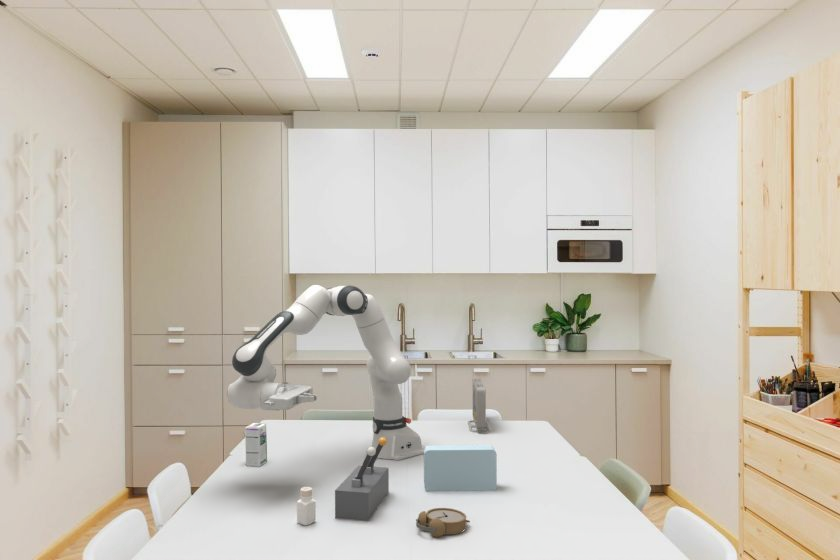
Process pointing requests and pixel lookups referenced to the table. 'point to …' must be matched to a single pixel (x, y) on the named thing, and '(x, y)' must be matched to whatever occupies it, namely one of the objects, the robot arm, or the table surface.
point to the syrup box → (256, 444)
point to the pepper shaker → (306, 507)
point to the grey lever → (366, 462)
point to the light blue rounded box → (460, 468)
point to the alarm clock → (442, 521)
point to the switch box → (361, 494)
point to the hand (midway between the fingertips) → (315, 398)
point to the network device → (479, 407)
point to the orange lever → (377, 451)
